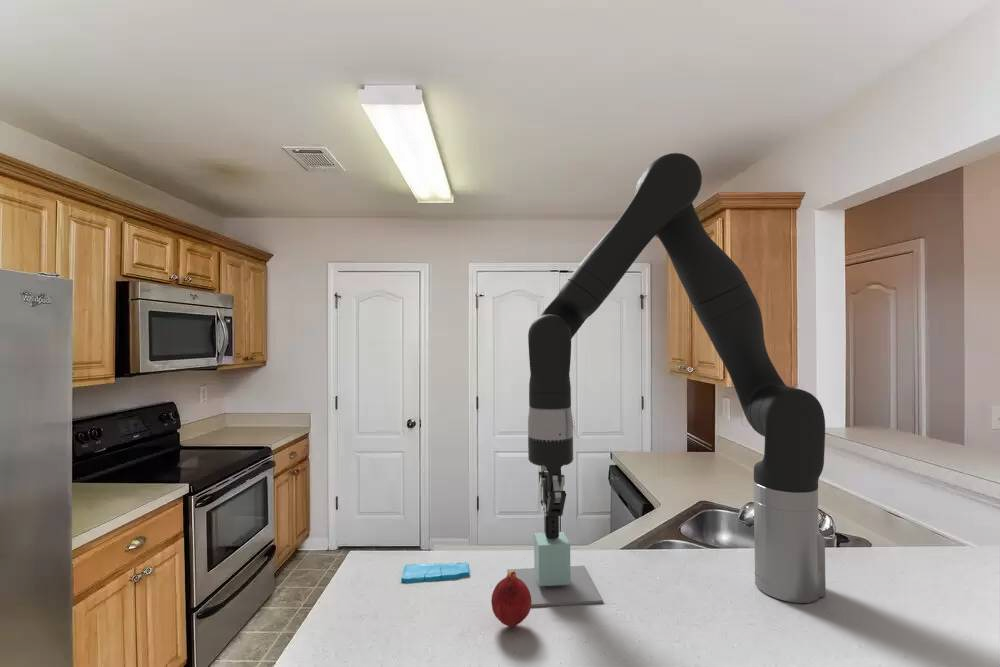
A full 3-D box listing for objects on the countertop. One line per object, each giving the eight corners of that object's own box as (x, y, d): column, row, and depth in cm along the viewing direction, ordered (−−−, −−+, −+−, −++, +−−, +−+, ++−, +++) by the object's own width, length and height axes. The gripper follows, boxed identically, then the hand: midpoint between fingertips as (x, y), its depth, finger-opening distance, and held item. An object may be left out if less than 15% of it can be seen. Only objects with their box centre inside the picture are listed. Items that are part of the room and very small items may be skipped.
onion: (528, 641, 69) (527, 583, 70) (487, 636, 71) (487, 579, 71) (534, 617, 75) (533, 564, 75) (496, 614, 76) (495, 561, 76)
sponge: (469, 578, 86) (470, 559, 92) (398, 580, 86) (404, 560, 92) (469, 587, 86) (470, 567, 92) (399, 588, 86) (404, 568, 92)
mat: (584, 567, 91) (584, 565, 91) (603, 602, 79) (603, 600, 79) (507, 571, 90) (507, 569, 90) (514, 607, 78) (514, 605, 78)
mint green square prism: (564, 569, 87) (563, 531, 87) (570, 584, 82) (570, 544, 82) (534, 571, 87) (533, 532, 87) (539, 586, 82) (538, 545, 82)
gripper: (581, 441, 78) (583, 552, 78) (564, 426, 92) (565, 521, 91) (534, 442, 78) (535, 555, 78) (523, 427, 91) (524, 523, 91)
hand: (551, 536), depth 85 cm, fingers closed
